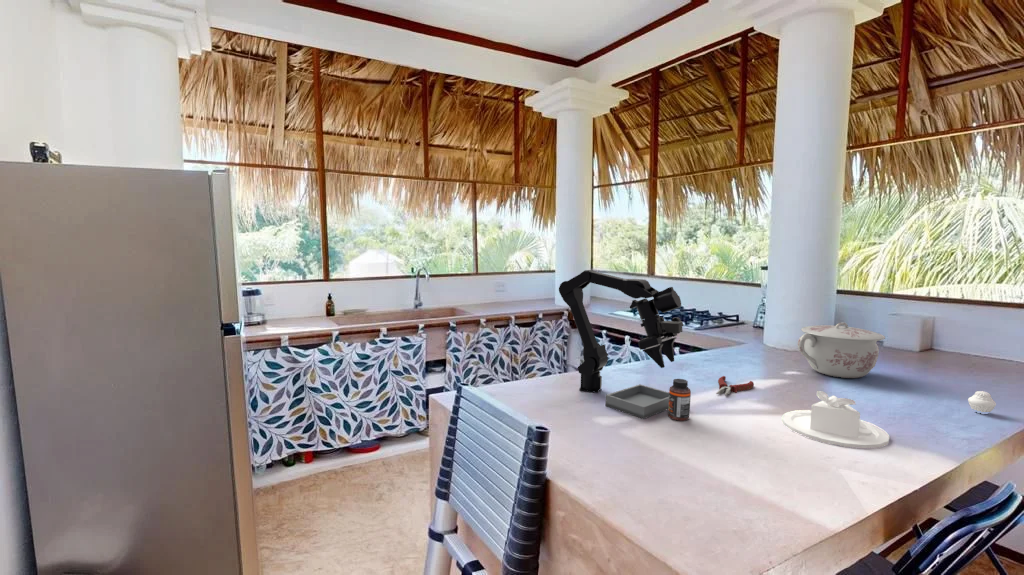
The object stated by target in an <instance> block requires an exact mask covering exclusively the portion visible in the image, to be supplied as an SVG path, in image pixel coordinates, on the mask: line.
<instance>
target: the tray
mask: <svg viewBox="0 0 1024 575" xmlns="http://www.w3.org/2000/svg"><path fill="white" fill-rule="evenodd" d="M605 407H608V408H610V409H613V408H614V410H616V409H617V411H619V410H620V411H619V412H622V411H623V413H625V414H628V415H631V416H634V417H638V418H639V417H640V419H642V418H643V419H646V417H647V418H649V417H652V416H654V414H655V415H656V413H657V414H659V412H660V413H662V412H665V411H667V410H668V407H669V392H668V391H666V390H661V389H657V388H654V387H651V386H647V385H645V384H641V383H640V384H636V385H633V386H630V387H627V388H623V389H620V390H618V391H614V392H611V393H608V394H605ZM666 409H667V410H666ZM664 410H665V411H664ZM661 411H662V412H661ZM651 415H652V416H651Z"/></svg>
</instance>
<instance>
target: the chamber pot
mask: <svg viewBox="0 0 1024 575" xmlns="http://www.w3.org/2000/svg"><path fill="white" fill-rule="evenodd" d="M800 330H801V331H802V332H803V334H802V335H801V336H799V338H798V340H797V349H798V352H800V354H801V356H803V357H804V358H805V359H806V361H807V362H808V364H809V366H810V367H811V368H812V369H813V370H814V371H815V372H818V373H820V374H822V375H824V374H825V376H828V377H832V376H833V378H838V377H841V379H858V378H863V377H865V376H867V375H868V374H869V373H870V372H871V370H873V369H874V368H875V366H876V364H877V361H878V359H879V351H880V350H879V349H880V348H879V346H878V344H877V342H878V341H883V340H885V339H886V336H885V335H883V334H881V333H879V332H878V333H877V332H875V331H872V330H868V329H864V328H858V327H851V326H849V325H848V323H847V322H845V321H844V322H839V323H837V324H836V325H831V324H830V325H825V324H823V325H821V324H818V325H809V326H808V325H807V326H802V328H801V329H800Z"/></svg>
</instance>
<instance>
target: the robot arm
mask: <svg viewBox="0 0 1024 575" xmlns="http://www.w3.org/2000/svg"><path fill="white" fill-rule="evenodd" d="M589 284H594V285H597V286H598V285H599V286H602V287H606V288H609V289H614V290H617V291H619V292H621V293H623V294H624V295H627V296H628V297H630V298H632V299H633V300H631V301H632V302H631V304H630V306H629V309H630V310H631V309H634V308H635V309H636V310H637V313H638V314H639V319H640V320H641V323H640V327H641V328H642V327H643V328H644V332H645V333H646V335H645V336H644V338H642V339H639V342H638V343H637V345H638V347H639V350H641V351H642V352H644V353H645V354H646V355H647V356H648V357H649V358H651V360H653V362H654V363H656V364H657V365H658V367H659V368H661V369H663V368H665V362H664V358H663V354H664V355H665V356H666V357H667V359H668V360H669V362H670V363H673V362H675V355H674V354H675V353H674V343H675V341H676V340H677V337H678V334H680V333H683V327H684V325H685V324H684V323H683V321H682V320H681V318H680V317H673V318H672V319H671V320H665V318H664V317H663V316H660V313H659V312H661V313H662V314H663V313H664V314H665V313H667V312H670V311H673V310H676V309H680V308H681V307H682V301H681V297H680V295H678V293H677V291H676V290H675V289H674V287H673V286H670V287H667V288H665V289H663V290H661V291H660V290H657V289H655V288H654V287H653V286H651V284H650V282H649V281H648V280H647V279H641V278H623V277H618V276H615V275H610V274H606V273H603V272H598V271H595V270H593V269H585V270H583V271H581V272H580V273H579V274H577V275H575V276H574V277H572V278H570V279H569V280H565V281H562V282H561V283H560V284H559V286H558V291H559V295H560V296H561V298H562V301H564V303H565V304H567V306H568V307H569V308H570V311H571V314H572V317H573V320H574V323H575V325H576V328H577V331H578V334H579V337H580V339H581V343H582V345H583V346H582V347H583V348H582V350H583V351H582V358H583V362H582V363H580V365H579V366H578V367H577V371H578V374H580V387H579V389H578V390H579V391H582V392H589V393H599V391H600V390H601V389H602V385H603V384H602V381H603V380H602V378H603V377H602V376H601V371H603V368H604V367H605V366H606V365H607V364H608V361H609V359H608V357H609V353H608V351H607V350H606V349H607V348H606V345H605V344H602V345H601V344H600V343H599V342H598V340H597V339H596V336H595V333H594V330H593V327H592V325H591V322H590V319H589V316H588V314H587V311H586V308H585V305H584V302H583V301H584V291H583V289H585V288H587V287H588V286H589ZM641 298H642V299H641ZM650 298H652V299H650ZM636 299H637V300H636ZM638 299H640V300H638ZM662 352H663V354H662Z"/></svg>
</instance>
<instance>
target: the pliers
mask: <svg viewBox="0 0 1024 575" xmlns="http://www.w3.org/2000/svg"><path fill="white" fill-rule="evenodd" d="M726 378H727V377H726V376H725V375H723V376H720V377H719V378H718V380H717V383H718V386H719V387H718V391H716V393H715V394H716V395H722V394H724V396H728V395H730V394H731V393H733V394H737V393H738V392H742V391H748V390H752V389H753V388H754V387H755V386H754V385H755V384H754V381H751V380H750V381H748V382H747V383H739V384H730V385H728V384H727V383H726ZM724 381H725V382H724Z"/></svg>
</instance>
